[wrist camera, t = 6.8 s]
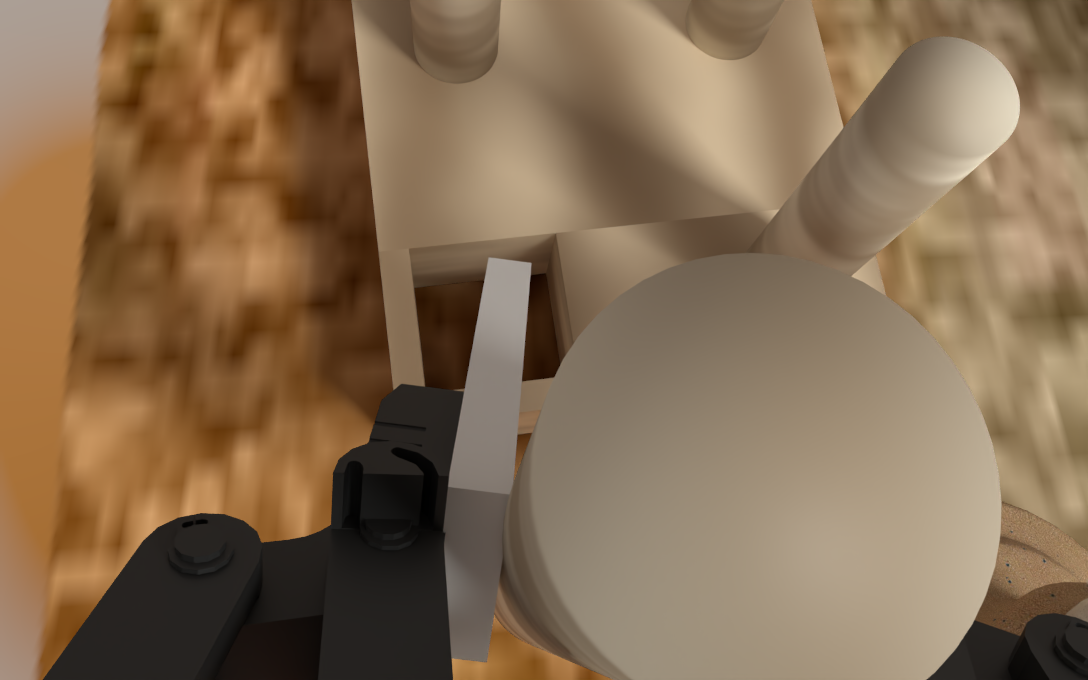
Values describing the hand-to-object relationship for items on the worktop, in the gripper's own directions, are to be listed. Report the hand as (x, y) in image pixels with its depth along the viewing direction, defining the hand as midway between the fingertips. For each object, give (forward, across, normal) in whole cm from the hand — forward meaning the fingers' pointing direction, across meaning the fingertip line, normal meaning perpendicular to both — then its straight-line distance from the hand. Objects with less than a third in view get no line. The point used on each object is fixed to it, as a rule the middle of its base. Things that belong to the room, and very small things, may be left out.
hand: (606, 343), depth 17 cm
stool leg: (+1, 0, -7) cm, 7 cm away
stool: (+20, +1, -5) cm, 21 cm away
